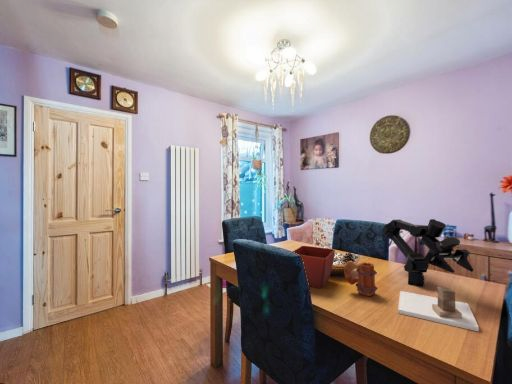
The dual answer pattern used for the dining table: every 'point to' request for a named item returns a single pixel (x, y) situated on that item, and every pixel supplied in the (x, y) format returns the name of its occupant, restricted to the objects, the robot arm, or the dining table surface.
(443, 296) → the brown pedestal block
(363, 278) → the mug
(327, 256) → the plant pot
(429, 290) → the dining table surface
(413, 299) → the board
